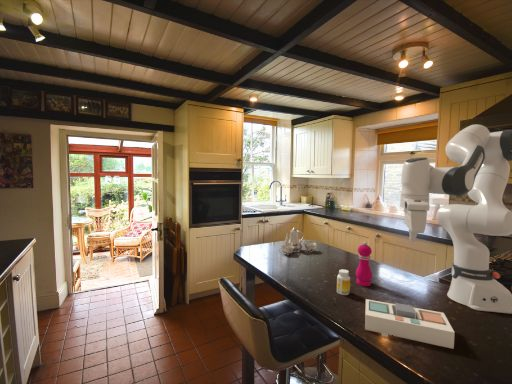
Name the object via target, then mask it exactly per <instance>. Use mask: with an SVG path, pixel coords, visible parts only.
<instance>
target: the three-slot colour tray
mask: <svg viewBox="0 0 512 384" xmlns="http://www.w3.org/2000/svg"><path fill="white" fill-rule="evenodd" d="M370 303H376V304H381V305H386V308H387V314H385V313H380V312H374V311H370ZM413 308H414V311H415V319H411V318H406V317H401V316H396V314H395V303H390V302H383V301H379V300H377V301H376V300H373V299H367V298H365V310H364V311H365V314H364V316H365V317H364V318H365V319H364V320H365V321H364V322H365V323H364V330H366V331H370V332H375V333H379V334H384V335H388V334H389V335H388V336H392V335H393V337H398V338H403V339H406V340H412V341H416V342H421V343H426V344H429V345H434V346H438V347H443V348H448V349H453V350H455V348H454V347H455V333H456V332H455V331H454V329H453V327H452V325H451V324H450V322H449V320H448V318H447V316H446V314H445V313H444V312H442V311H434V310H429V309H423V308H418V307H413ZM422 312H426V313H431V314H437V315H441V317H442V319H443V321H444V323H445V325H442V324H437V323H432V322H427V321H422Z"/></svg>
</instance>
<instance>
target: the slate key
mask: <svg viewBox="0 0 512 384" xmlns="http://www.w3.org/2000/svg"><path fill="white" fill-rule="evenodd" d="M394 304H395V314H396V316H401V317H406V318H411V319H415V311H414V308H415V307H414V306H413V305H411V304H410V305H409V304H404V303H398V302H394Z"/></svg>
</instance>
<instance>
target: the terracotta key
mask: <svg viewBox="0 0 512 384" xmlns="http://www.w3.org/2000/svg"><path fill="white" fill-rule="evenodd" d="M422 321H427V322H432V323H437V324H442V325H445V323H444V321H443V319H442V317H441V315H437V314H431V313H426V312H422Z"/></svg>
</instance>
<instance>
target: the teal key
mask: <svg viewBox="0 0 512 384" xmlns="http://www.w3.org/2000/svg"><path fill="white" fill-rule="evenodd" d="M370 311H374V312H380V313H385V314H387V308H386V305H381V304H376V303H370Z"/></svg>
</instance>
